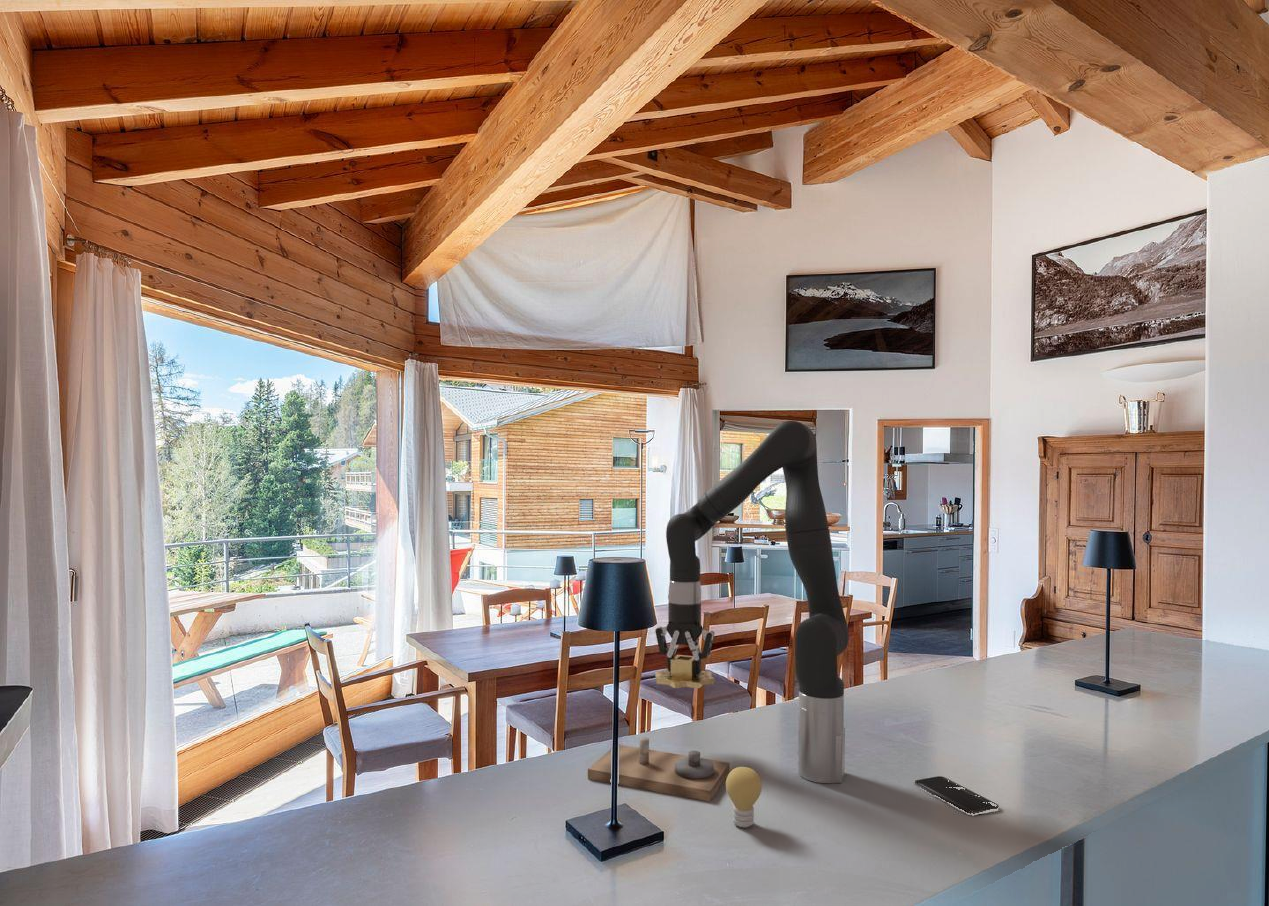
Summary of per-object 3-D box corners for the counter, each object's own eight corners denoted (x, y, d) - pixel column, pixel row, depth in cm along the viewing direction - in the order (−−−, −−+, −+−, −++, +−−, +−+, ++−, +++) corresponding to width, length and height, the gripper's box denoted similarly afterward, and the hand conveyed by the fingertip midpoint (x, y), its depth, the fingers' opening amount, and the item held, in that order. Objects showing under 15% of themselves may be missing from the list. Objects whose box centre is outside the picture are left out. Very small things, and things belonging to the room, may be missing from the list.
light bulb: (760, 835, 127) (761, 777, 127) (724, 831, 128) (724, 773, 129) (761, 818, 133) (762, 763, 134) (726, 814, 135) (727, 759, 135)
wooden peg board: (729, 772, 154) (729, 738, 154) (710, 801, 140) (710, 764, 140) (616, 753, 164) (616, 721, 164) (587, 778, 150) (588, 744, 150)
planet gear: (722, 675, 171) (722, 654, 171) (705, 692, 158) (705, 668, 158) (665, 669, 176) (665, 648, 176) (644, 684, 163) (644, 662, 163)
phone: (970, 812, 135) (912, 780, 149) (970, 819, 135) (912, 786, 149) (1002, 806, 138) (942, 775, 152) (1002, 812, 138) (942, 780, 152)
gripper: (719, 599, 168) (719, 674, 168) (660, 595, 174) (660, 667, 173) (710, 605, 161) (710, 682, 161) (649, 600, 167) (649, 675, 166)
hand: (684, 674), depth 167 cm, fingers closed on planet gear, 5 cm apart
